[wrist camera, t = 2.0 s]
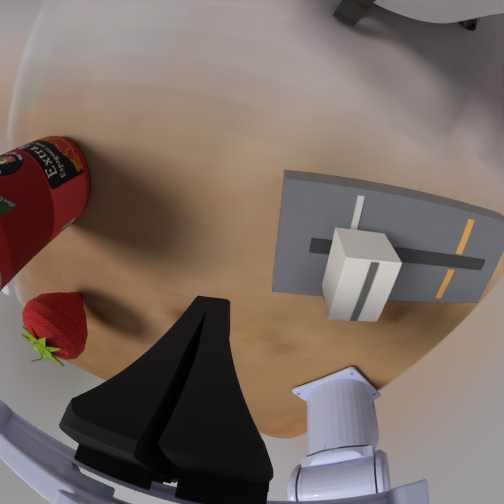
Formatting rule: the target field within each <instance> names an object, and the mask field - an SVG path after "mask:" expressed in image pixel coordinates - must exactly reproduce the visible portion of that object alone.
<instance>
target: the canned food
mask: <svg viewBox="0 0 504 504" xmlns="http://www.w3.org/2000/svg"><path fill="white" fill-rule="evenodd" d="M89 191H90V178H89V171H88V168H87V164H86V161H85V159H84V157H83V155H82V153H81V151H80V150H79V148H78V147H77V146H76V145H75V144H74V143H73V142H72V141H70V140H69V139H67V138H64V137H58V136H48V137H45V138H42V139H39V140H36V141H34V142H31V143H28V144H26V145H23V146H21V147H18V148H16V149H14V150H11V151H9V152H7V153H5V154H2V155H0V291H1V290H2V289H3V288H4V286H5V285H6V284H7V283H9V282H10V281H11V279H12V278H13V277H14V276H15V275H16V274H17V273H18V272H19V271H20V270H21V269H22V268H23V267H24V266H25V265H26V264H27V263H28V262H29V261H30V260H31V259H32V258H33V257H34V256H35V255H36V254H38V253H39V252H40V251H41V250H42V249H43V248H44V247H45V246H46V245H47V244H48V243H49V242H51V241H52V240H53V239H54V238H55V237H56V236H57V235H59V234H60V233H61V232H62V231H63V230H64V229H66V228H67V227H68V226H69V225H70V224H71V223H73V222H74V221H75V220H76V219H77V218H78V217H79V215H80V214H81V212H82V210H83V209H84V207H85V205H86V203H87V200H88V197H89Z"/></svg>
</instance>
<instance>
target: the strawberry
mask: <svg viewBox="0 0 504 504" xmlns="http://www.w3.org/2000/svg"><path fill="white" fill-rule="evenodd" d="M22 316H23V323H24V326H25V327H24V326H23V328H24V330H25V331H26V333H27V335H28V336H29V337H27V336H25V335H23V334H22V336H23V337H24V338H25V339H27V340H28V341H29V342H30V343H31V344H33V349H35V350H37V351H38V352H39V353H40V354H41V359H42V357H43V358H44V360H45V361H46V359H47V357H49V358H50V359H52V360H53V361H55V362H57V363H58V364H60V365H62V366H64V365H63V364H62V363H61V362H60V361H59V360H58V359H57V358H56V357H55V356H57V357H59V358H61V359H65V360H68V359H75V358H77V357H78V356H79V355H80V354H81V353H82V352H83V351H84V348H85V344H86V339H87V335H88V334H87V323H86V314H85V310H84V305H83V299H82V297H81V295H80V294H78V293H76V292H70V293H61V292H57V293H47V294H41V295H39V296H37V297H35V298H34V299H32V300H30V301H28V302H27V304H26V306H25V308H24V310H23V313H22ZM54 355H55V356H54ZM41 359H37V360H41ZM37 360H33V361H37ZM33 361H32V362H33Z"/></svg>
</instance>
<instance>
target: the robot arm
mask: <svg viewBox="0 0 504 504" xmlns="http://www.w3.org/2000/svg"><path fill="white" fill-rule="evenodd" d="M229 336H230V301H229V300H228V299H220V298H212V297H204V296H197V297H196V298H195V299H194V301H193V302H192V303H191V305H190V306H189V307H188V308H187V310H186V311H185V312H184V313H183V314H182V316H181V317H180V318H179V319H178V320H177V321H176V323H175V324H174V325H173V326H172V327H171V328H170V329H169V330H168V331H167V332H166V333H165V334H164V335H163V336H162V337H161V338H160V339H159V340H158V341H157V342H156V343H155V344H154V345H153V346H152V347H151V348H150V349H149V350H148V351H147V352H146V353H145V354H143V355H142V356H141V357H140V358H139V359H137V360H136V361H135V362H134V363H132V364H131V365H130V366H128V367H127V368H126V369H124V370H123V371H121V372H120V373H118V374H117V375H115V376H114V377H112V378H110V379H109V380H107V381H106V382H104V383H102V384H101V385H99V386H97V387H95V388H93V389H91V390H89V391H87V392H85V393H83V394H81V395H79V396H77V397H74V398H72V400H71V401H70V403H69V405H68V406H67V408H66V411H65V413H64V415H63V417H62V420H61V422H60V424H59V426H60V429H61V430H62V431H63V432H64V433H66V434H67V435H68V436H69V437H71V438H72V439H73V440H75V441H76V442H77V443H79V446H78V449H77V451H76V450H74V449H72V448H71V447H69V446H67V445H65V444H63V443H61V442H59V441H58V440H56V439H54V438H52V437H51V436H49V435H48V434H46V433H44V432H43V431H41V430H39V429H38V428H36V427H35V426H33V425H32V424H30V423H29V422H27V421H26V420H24V419H23V418H21V417H20V416H19V415H17V414H16V413H14V412H13V411H12V410H11V409H10V408H9V407H8V406H7V405H6V404H5V403H4V402H2V401H1V400H0V457H1V459H2V460H3V461H4V462H5V463H6V464H7V465H8V466H9V467H10V468H11V469H12V470H13V471H14V472H15V473H16V474H17V475H19V476H20V477H21V478H22V479H23V480H24V481H25V482H26V483H27V484H29V485H30V486H31V487H32V488H33V489H34V490H35V491H37V492H38V493H39V494H40V495H41V496H43V497H44V498H45V499H47V500H48V501H49V502H50V503H52V504H131V503H128V502H125V501H123V500H120V499H117V498H115V497H113V494H114V491H115V489H114V488H113V487H110V486H108V485H106V484H103V483H101V482H99V481H97V480H94V479H92V478H90V477H88V476H86V475H84V474H82V473H81V472H80V469H79V467H81V468H83V469H86V470H87V471H89V472H92V473H94V474H96V475H98V476H100V477H102V478H105V479H107V480H109V481H112V482H114V483H117V484H119V485H122V486H125V487H127V488H130V489H133V490H135V491H138V492H141V493H145V494H147V495H151V496H154V497H157V498H161V499H164V500H168V501H172V502H176V503H180V504H429V497H428V487H427V480H426V479H424V480H420V481H417V482H414V483H410V484H406V485H403V486H399V487H396V488H393V489H390V477H389V476H390V475H389V466H388V459H387V454H386V453H385V452H382V450H377V451H375V448H376V446H377V443H378V440H379V432H378V425H377V418H376V412H375V405H374V399H376V398H378V397H380V393H379V392H378V391H377V390H376V389H375V388H374V387H373V386H372V385H371V384H370V383H369V382H368V381H367V380H366V379H365V378H364V377H363V376H362V375H361V374H360V373H359V371H358V370H357V369H356V368H355V367H348V368H346V369H344V370H341V371H339V372H336V373H334V374H331V375H329V376H326V377H324V378H321V379H318V380H316V381H313V382H310V383H307V384H304V385H302V386H299V387H296V388H293V389H292V393H294V394H295V395H297V396H298V397H300V398H301V399H303V400H304V401H306V402H307V457H303V458H302V459H301V464H300V465H297V466H296V467H295V468H294V470H293V471H292V472H291V474H290V477H289V480H288V488H287V493H288V500H289V501H267V493H268V491H269V482H270V481H271V479H272V478H273V468H272V464H271V461H270V458H269V455H268V452H267V450H266V446H265V443H264V441H263V440H262V438H261V436H260V434H259V432H258V430H257V428H256V426H255V423H254V421H253V419H252V417H251V414H250V412H249V410H248V407H247V404H246V402H245V399H244V397H243V394H242V391H241V388H240V385H239V382H238V378H237V375H236V371H235V367H234V363H233V358H232V353H231V348H230V341H229ZM78 466H79V467H78ZM163 482H166V483H171V482H174V483H175V482H178V483H177V487H172V486H169V485H165V484H163Z"/></svg>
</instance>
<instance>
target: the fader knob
mask: <svg viewBox="0 0 504 504" xmlns="http://www.w3.org/2000/svg"><path fill="white" fill-rule="evenodd" d="M401 265H402V262H401V260H400V259H399V257H398V255H397V253H396V252H395V250H394V248H393V247H392V245H391V243H390V242H389V240H388V239H387V237H386V235H385V234H384V233H377V232H369V231H361V230H353V229H345V228H337V227H335V232H334V236H333V241H332V245H331V250H330V254H329V258H328V263H327V267H326V271H325V275H324V279H323V283H322V288H323V295H324V301H325V308H326V314H327V319H330V320H348V321H374V322H377V321H378V318H379V316H380V314H381V312H382V310H383V308H384V305H385V303H386V301H387V299H388V296H389V294H390V292H391V289H392V287H393V285H394V282H395V280H396V277H397V275H398V272H399V270H400V267H401Z"/></svg>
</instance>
